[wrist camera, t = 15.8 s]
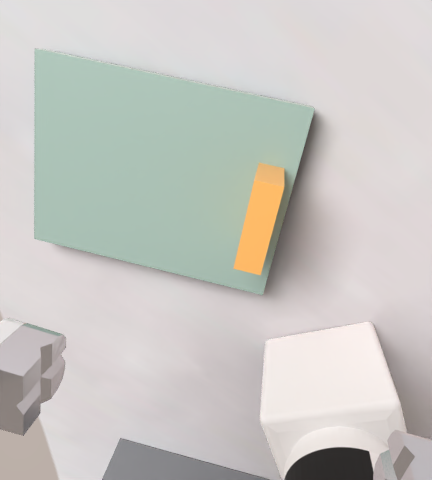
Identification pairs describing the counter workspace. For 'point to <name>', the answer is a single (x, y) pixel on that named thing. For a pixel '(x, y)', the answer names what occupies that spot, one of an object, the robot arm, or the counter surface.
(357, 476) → the container
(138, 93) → the lid
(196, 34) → the counter surface
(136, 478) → the tub
